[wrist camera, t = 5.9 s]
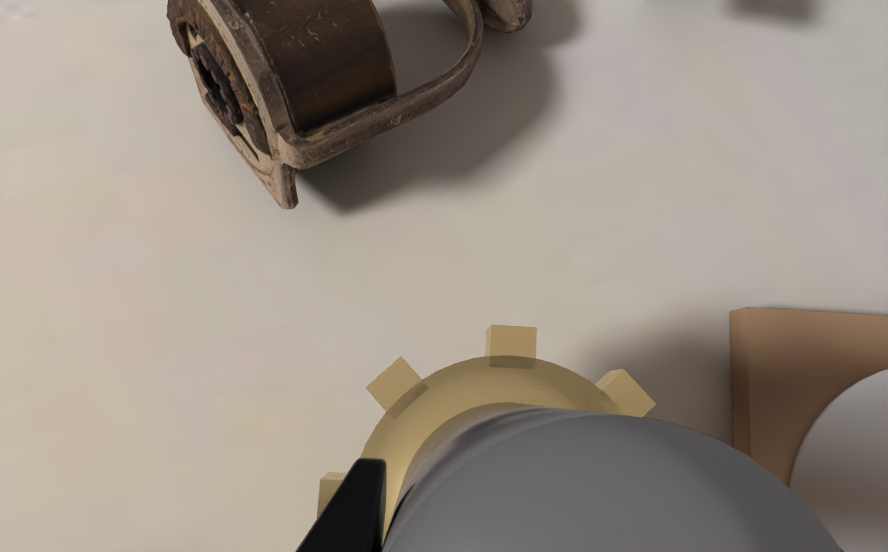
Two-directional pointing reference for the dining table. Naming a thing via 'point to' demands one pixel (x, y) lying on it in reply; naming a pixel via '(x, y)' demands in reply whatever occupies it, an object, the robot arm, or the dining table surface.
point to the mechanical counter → (312, 75)
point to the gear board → (817, 413)
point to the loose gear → (562, 466)
